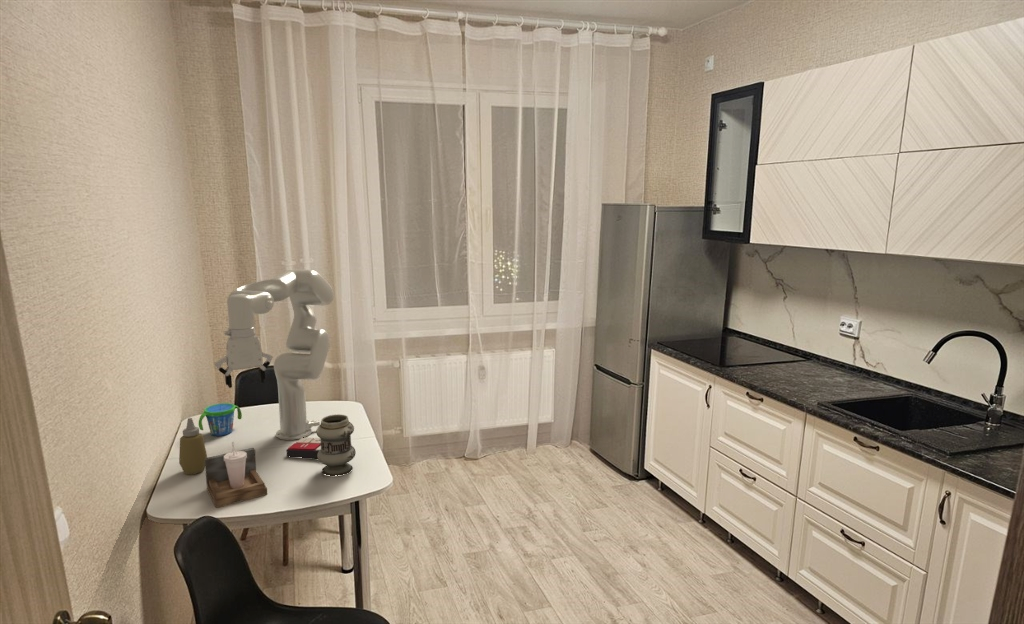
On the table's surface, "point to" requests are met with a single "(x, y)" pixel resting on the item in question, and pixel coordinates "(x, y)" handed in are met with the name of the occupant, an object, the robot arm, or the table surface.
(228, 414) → the snack cup
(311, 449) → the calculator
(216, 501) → the display stand
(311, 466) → the table surface
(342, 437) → the apothecary jar
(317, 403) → the table surface
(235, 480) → the smoothie
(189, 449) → the squeeze bottle
